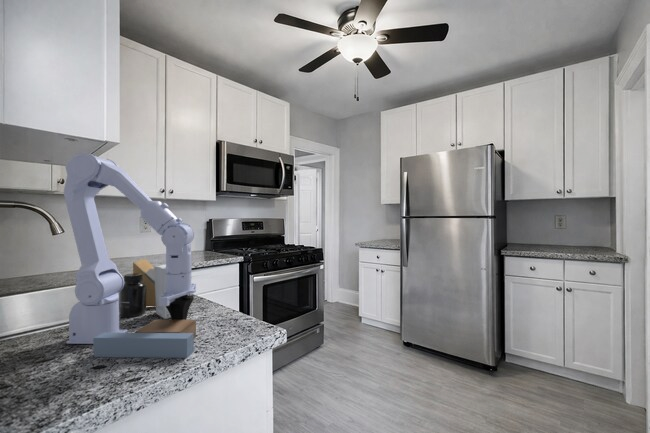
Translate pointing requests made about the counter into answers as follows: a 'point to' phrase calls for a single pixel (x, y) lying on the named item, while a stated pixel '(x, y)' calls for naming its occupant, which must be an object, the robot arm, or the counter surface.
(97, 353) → the slate block
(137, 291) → the supplement bottle
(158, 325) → the walnut block
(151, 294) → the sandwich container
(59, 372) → the counter surface
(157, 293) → the skincare box
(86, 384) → the counter surface
